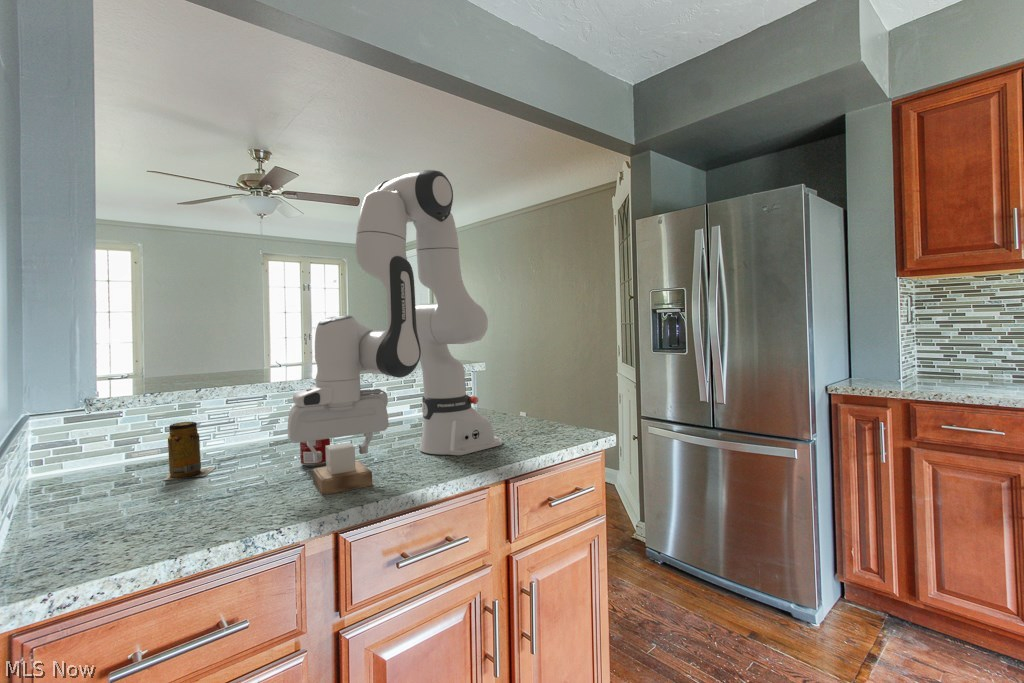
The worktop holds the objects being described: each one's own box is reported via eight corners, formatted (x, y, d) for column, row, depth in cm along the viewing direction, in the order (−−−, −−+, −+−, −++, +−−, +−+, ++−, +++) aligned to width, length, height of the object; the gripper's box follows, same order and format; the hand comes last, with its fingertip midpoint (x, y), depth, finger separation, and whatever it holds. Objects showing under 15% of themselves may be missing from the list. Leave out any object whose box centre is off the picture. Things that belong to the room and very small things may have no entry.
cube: (350, 464, 106) (349, 442, 106) (355, 470, 101) (354, 447, 101) (326, 468, 103) (325, 445, 103) (330, 474, 99) (329, 450, 99)
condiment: (175, 471, 114) (173, 421, 113) (215, 468, 116) (213, 418, 115) (161, 481, 107) (158, 428, 106) (204, 477, 109) (201, 425, 108)
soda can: (320, 468, 113) (318, 418, 113) (294, 467, 115) (292, 417, 114) (336, 460, 120) (334, 412, 120) (312, 459, 121) (310, 412, 121)
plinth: (359, 472, 109) (359, 459, 109) (372, 485, 101) (371, 471, 101) (313, 481, 104) (312, 468, 104) (322, 495, 95) (321, 480, 95)
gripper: (382, 386, 110) (384, 446, 110) (284, 395, 99) (287, 461, 99) (391, 389, 104) (393, 452, 105) (288, 399, 93) (291, 469, 94)
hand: (341, 457), depth 102 cm, fingers open, 8 cm apart
